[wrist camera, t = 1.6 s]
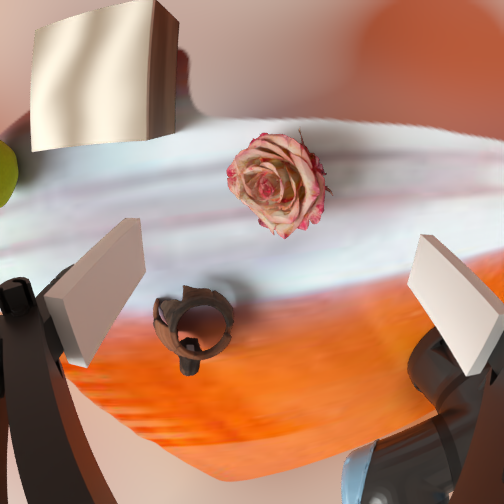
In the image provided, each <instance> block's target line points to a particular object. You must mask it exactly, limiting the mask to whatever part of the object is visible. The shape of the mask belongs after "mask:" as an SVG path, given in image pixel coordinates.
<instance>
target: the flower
mask: <svg viewBox="0 0 504 504" xmlns="http://www.w3.org/2000/svg"><path fill="white" fill-rule="evenodd" d="M299 132H300V128H299ZM259 135H260V134H259ZM300 135H301V132H300ZM301 141H302V144H301V143H298V142H297V141H296V140H295V139H294V138H291V137H288V136H286V135H283V134H270V135H269V134H268V133H262V134H261V135H260V136H259V137H258V138H256V139H254V138H253V140H252V141H251V142H250V145H249V147H248V148H247V149H244V150H242V151H240V152H239V154H238V155H236V156H235V159H234V160H233V162H232V164H231V165H230V166H229V167H228V169H227V176H228V177H229V178H227V180H228V187H229V189H230V191H231V192H232V193H233V194H235V195H236V197H237V199H239V200H241V201H242V202H243V204H245V205H247V206H248V207H249V208H250V209H251V210H252V211H253V212H254V213H255V214H256V215H257V216H258V217H259V219H258V222H259V224H260V225H261V226H263V227H266V228H269V229H270V231H271V232H272V234H273V235H275V234H274V230H276V231H277V233H278V234H279V235H280V236H281V237H282V238H284V239H286V238H287V237H288V236H289V235H290V234H291V233H292V232H293V231H294V230H295V229H297V228H298V229H302V230H307V228H308V226H309V220H310V221H311V222H312V224H317V223H318V222H319V221H320V218H321V215H320V214H322V213H323V212H324V198H325V190H327V191H329V192H330V193H331V194H332V191H331V190H330V189H329V188H328V187H327V186H325V180H324V177H323V176H324V175H326V174H327V173H325V172H324V169H323V166H322V164H320V163H319V160H320V159H319V158H318V157H317V156H315V154H314V153H310V152H309V151H308V148H307V147H306V146H305V145H304V142H303V139H302V136H301ZM332 196H333V194H332Z"/></svg>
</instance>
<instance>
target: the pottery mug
mask: <svg viewBox="0 0 504 504" xmlns="http://www.w3.org/2000/svg"><path fill="white" fill-rule="evenodd" d="M200 305H209V306H212V307H215V308H216V309H218V310H219V311H220V312H221V313H222V314H223V316H224V318H225V322H226V330H225V333H224V335H223V337H222V338H221V340H220V341H219V342H218V343H217V344H216V345H215V346H214V347H212V348H210V349H208V350H205V351H202V350H201V348H200V345H199V343H198V339H197V338H189V337H186V338H185V339H183V340H181V341H180V342H179V340H178V329H176V328H177V324H178V322H179V320H180V318H181V317H182V315H183V314H184V313H185V312H186V311H188V310H189V309H190V308H193V307H195V306H200ZM158 307H159V299H158V298H157V299H156V301H155V303H154V307H153V317H154V322H153V324H154V328H155V332H156V334H157V336H158V337H159V339H160V340H161V342H162V343H163V344H164V345H165V346H166V347H167V348H168V349H169V350H170V351H173V352H174V353H175V354H177V355H178V356H179V359H180V371H181V373H182V374H183V375H185V376H193V375H195V374H196V373H197V372H198V370H199V366H200V361H201V360H205V359H208V358H211V357H213V356H215V355H217V354H219V353H220V352H222V351H223V350H224V349H225V348H226V347H227V345H228V344H229V342H230V340H231V338H232V336H231V335H230V332H231V329H232V326H233V323H234V320H233V319H234V316H233V308H232V306H231V305H230V303H229V302H228V301H227V299H226V298H225V297H224V296H223V295H221V294H220V293H218V292H217V291H215V290H214V291H211V290H210V289H207V288H192V287H189V286H185V285H183V298H182V301H178V300H174V299H173V300H169V301H168V300H164V301H163V302H162V304H161V306H160V307H161V309H162V310H163V314H164V317H165V319H166V321H167V324H168V325H167V324H166V323H165V322H164V321H163V320H162V319H161V317H160V315H159V308H158Z"/></svg>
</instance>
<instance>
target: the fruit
mask: <svg viewBox="0 0 504 504" xmlns="http://www.w3.org/2000/svg"><path fill="white" fill-rule="evenodd" d="M17 180H18V165H17V158H16V155H15V153H14V151H13V150H12V149H11V148H10V147H9V146H8V145H7V144H5V143H4V142H3V141H1V140H0V208H1V207H2V206H4V205H5V204H6V203H7V201H8V200H9V199H10V197H11V195H12V193H13V191H14V188H15V186H16V183H17Z"/></svg>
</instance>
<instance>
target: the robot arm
mask: <svg viewBox="0 0 504 504" xmlns="http://www.w3.org/2000/svg"><path fill="white" fill-rule="evenodd" d="M145 273H146V268H145V260H144V252H143V243H142V234H141V223H140V218H125V219H124V220H122V221H121V222H120V223H119V224H118V225H117V226H116V227H114V228H113V229H112V230H111V231H110V232H109V233H108V234H107V235H106V236H104V237H103V238H102V239H101V240H100V241H99V242H98V243H97V244H96V245H95V246H94V247H92V248H91V249H90V250H89V251H88V252H87V253H86V254H85V255H84V256H83V257H82V258H81V259H80V260H79V261H78V262H77V263H76V264H73V265H71V266H69V267H68V268H66V269H64V270H62V271H61V272H60V273H59V274H58V275H57V276H56V279H55V278H54V279H53V280H52V281H51V282H50V284H48V285H47V286H46V287H45V288H44V289H43V290H42V291H41V292H40V293H39V294H38V295H37V297H36V298H35V296H34V293H33V290H32V287H31V283H30V281H29V279H27V278H25V277H17V278H12V279H10V280H7V281H5V282H4V283H2V284H1V285H0V309H1V311H2V314H3V315H0V504H8V497H7V442H8V427H10V433H11V438H12V444H13V449H14V454H15V458H16V463H17V467H18V471H19V475H20V479H21V482H22V486H23V489H24V493H25V496H26V499H27V502H28V504H118V503H117V502H116V500H115V498H114V496H113V494H112V492H111V490H110V488H109V487H108V485H107V483H106V481H105V479H104V477H103V474H102V472H101V470H100V468H99V466H98V464H97V462H96V460H95V457H94V455H93V453H92V450H91V448H90V446H89V443H88V441H87V438H86V436H85V433H84V431H83V428H82V426H81V423H80V420H79V418H78V415H77V412H76V409H75V406H74V403H73V400H72V397H71V395H70V391H69V388H68V385H67V382H66V378H65V375H64V371H63V367H62V364H61V362H60V360H59V357H60V356H61V354H62V353H63V351H64V353H65V355H66V357H67V360H68V362H69V364H73V365H77V366H82V367H86V368H87V367H88V366H89V364H90V362H91V360H92V359H93V357H94V355H95V353H96V352H97V350H98V348H99V347H100V345H101V343H102V341H103V340H104V338H105V336H106V335H107V333H108V331H109V330H110V328H111V326H112V325H113V323H114V321H115V320H116V318H117V316H118V315H119V313H120V312H121V310H122V308H123V307H124V305H125V304H126V302H127V300H128V299H129V297H130V296H131V294H132V293H133V291H134V289H135V288H136V286H137V285H138V283H139V282H140V280H141V279H142V277H143V276H144V274H145ZM407 285H408V286H409V288H410V289H411V290H412V292H413V293H414V295H415V296H416V298H417V299H418V300H419V302H420V303H421V305H422V306H423V308H424V309H425V311H426V312H427V314H428V315H429V317H430V318H431V320H432V321H433V323H434V324H435V327H434V328H433V329H432V330H430V331H429V332H428V333H427V334H426V335H425V336H424V337H423V338H422V339H421V340H420V342H419V343H418V344H417V346H416V347H415V348H414V350H413V352H412V354H411V356H410V358H409V361H408V374H409V377H410V379H411V381H412V383H413V385H414V387H415V388H416V389H417V390H418V391H420V392H422V393H423V394H424V395H425V397H426V398H427V399H428V400H429V401H430V402H431V403H432V404H433V405H434V406H435V408H436V410H437V412H438V415H436V416H434V417H432V418H430V419H428V420H426V421H424V422H421V423H420V424H417V425H415V426H413V427H411V428H409V429H406V430H404V431H402V432H399V433H397V434H394V435H392V436H390V437H387V438H385V439H382V440H379V439H377V440H375V441H374V442H373V443H371V444H369V445H366V446H363V447H361V448H358V449H356V450H354V451H352V452H351V453H350V454H349V455H348V457H347V458H346V460H345V462H344V466H343V471H342V481H341V492H342V504H504V304H503V303H502V301H501V300H500V299H499V298H498V297H497V296H496V295H495V294H494V293H493V292H492V291H491V290H490V289H489V288H488V287H487V286H486V285H485V284H484V283H483V282H482V281H481V280H480V279H479V278H478V277H477V276H476V275H475V274H474V273H473V272H472V271H471V270H470V269H469V268H468V267H467V266H466V265H465V264H464V263H463V262H462V261H461V260H460V259H459V258H458V257H456V256H455V255H454V254H453V253H452V252H451V251H450V250H449V249H448V248H447V247H446V246H444V245H443V244H442V243H441V242H440V241H439V240H438V239H437V238H435V237H434V236H433V235H423V234H420V238H419V242H418V246H417V250H416V254H415V258H414V262H413V265H412V269H411V272H410V276H409V279H408V283H407ZM452 491H454V492H453V494H452V496H451V499H450V500H449V493H450V492H452Z"/></svg>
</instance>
